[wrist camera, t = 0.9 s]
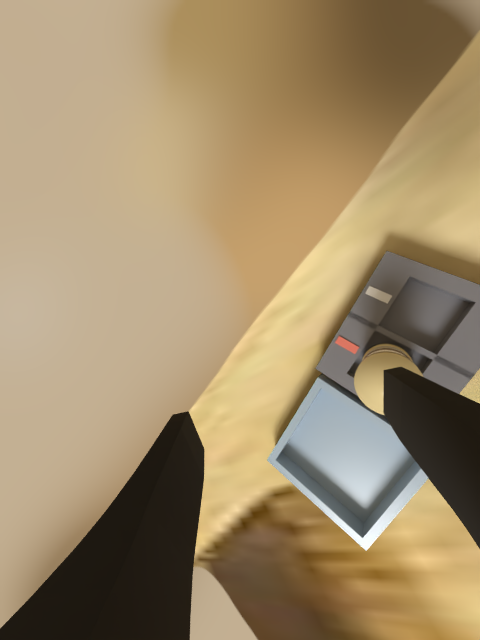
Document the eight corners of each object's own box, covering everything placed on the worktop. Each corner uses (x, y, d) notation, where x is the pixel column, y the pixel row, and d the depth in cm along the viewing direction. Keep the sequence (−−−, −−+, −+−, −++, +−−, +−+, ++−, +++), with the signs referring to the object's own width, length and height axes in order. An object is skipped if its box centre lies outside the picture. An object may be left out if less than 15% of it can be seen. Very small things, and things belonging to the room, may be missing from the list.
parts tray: (437, 446, 18) (443, 460, 16) (367, 530, 20) (366, 550, 18) (323, 372, 21) (317, 377, 20) (275, 449, 24) (266, 460, 22)
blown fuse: (422, 358, 17) (441, 378, 12) (396, 395, 18) (402, 429, 12) (377, 334, 19) (374, 342, 13) (354, 369, 20) (342, 390, 14)
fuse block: (515, 305, 16) (532, 303, 14) (419, 426, 18) (423, 439, 16) (386, 256, 19) (386, 250, 17) (320, 364, 22) (315, 368, 20)
